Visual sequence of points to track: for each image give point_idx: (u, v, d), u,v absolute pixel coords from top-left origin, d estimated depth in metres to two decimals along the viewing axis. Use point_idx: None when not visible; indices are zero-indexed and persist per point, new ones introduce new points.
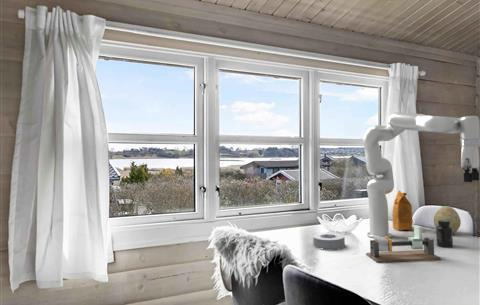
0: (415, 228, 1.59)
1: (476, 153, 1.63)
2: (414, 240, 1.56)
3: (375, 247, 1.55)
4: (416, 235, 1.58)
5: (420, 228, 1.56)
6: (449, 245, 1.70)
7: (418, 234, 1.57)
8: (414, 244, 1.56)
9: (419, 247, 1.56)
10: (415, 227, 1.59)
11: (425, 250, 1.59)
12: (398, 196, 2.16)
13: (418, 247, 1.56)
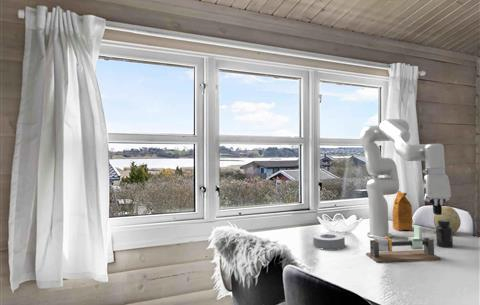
0: (415, 228, 1.59)
1: None
2: (414, 240, 1.56)
3: (375, 247, 1.55)
4: (416, 235, 1.58)
5: (420, 228, 1.56)
6: (449, 245, 1.70)
7: (418, 234, 1.57)
8: (414, 244, 1.56)
9: (419, 247, 1.56)
10: (415, 227, 1.59)
11: (425, 250, 1.59)
12: (398, 196, 2.16)
13: (418, 247, 1.56)
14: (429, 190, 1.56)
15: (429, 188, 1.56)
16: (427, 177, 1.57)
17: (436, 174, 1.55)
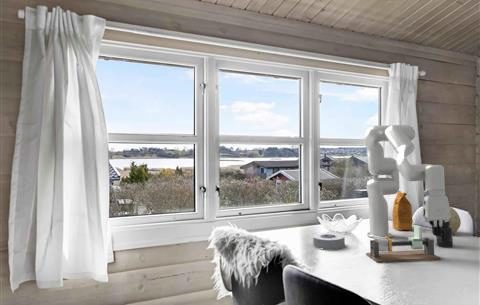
0: (415, 228, 1.59)
1: None
2: (414, 240, 1.56)
3: (375, 247, 1.55)
4: (416, 235, 1.58)
5: (420, 228, 1.56)
6: (449, 245, 1.70)
7: (418, 234, 1.57)
8: (414, 244, 1.56)
9: (419, 247, 1.56)
10: (415, 227, 1.59)
11: (425, 250, 1.59)
12: (398, 196, 2.16)
13: (418, 247, 1.56)
14: (429, 212, 1.56)
15: (429, 210, 1.56)
16: (427, 198, 1.57)
17: (436, 196, 1.55)
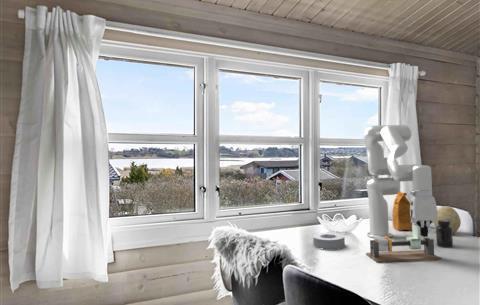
0: (413, 228, 1.59)
1: None
2: (412, 240, 1.56)
3: (375, 247, 1.55)
4: (414, 235, 1.58)
5: (418, 228, 1.56)
6: (449, 245, 1.70)
7: (416, 234, 1.57)
8: (412, 244, 1.56)
9: (418, 247, 1.56)
10: (413, 227, 1.59)
11: (425, 250, 1.59)
12: (398, 196, 2.16)
13: (416, 247, 1.56)
14: (416, 212, 1.56)
15: (416, 210, 1.56)
16: (414, 199, 1.57)
17: (423, 196, 1.55)
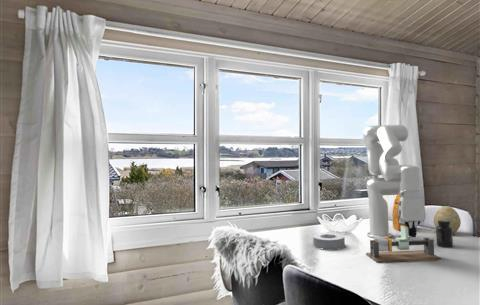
0: (402, 229, 1.59)
1: None
2: (400, 241, 1.56)
3: (375, 247, 1.55)
4: (403, 236, 1.58)
5: (406, 229, 1.56)
6: (449, 245, 1.70)
7: (405, 235, 1.56)
8: (400, 245, 1.56)
9: (406, 247, 1.56)
10: (402, 228, 1.59)
11: (425, 250, 1.59)
12: (398, 196, 2.16)
13: (404, 248, 1.56)
14: (404, 213, 1.55)
15: (404, 211, 1.55)
16: (402, 199, 1.56)
17: (411, 197, 1.55)
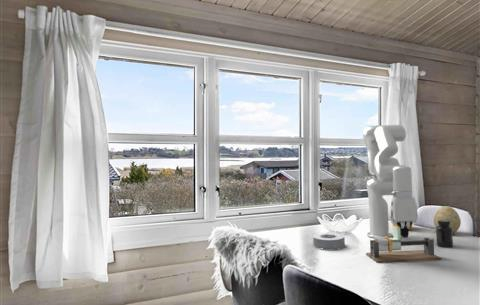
0: (394, 229, 1.59)
1: None
2: (392, 241, 1.55)
3: (375, 247, 1.55)
4: (395, 236, 1.58)
5: (398, 229, 1.56)
6: (449, 245, 1.70)
7: (396, 235, 1.56)
8: (392, 245, 1.55)
9: (398, 248, 1.56)
10: (394, 228, 1.59)
11: (425, 250, 1.59)
12: None
13: (396, 248, 1.56)
14: (396, 213, 1.55)
15: (396, 211, 1.55)
16: (394, 200, 1.56)
17: (403, 197, 1.55)
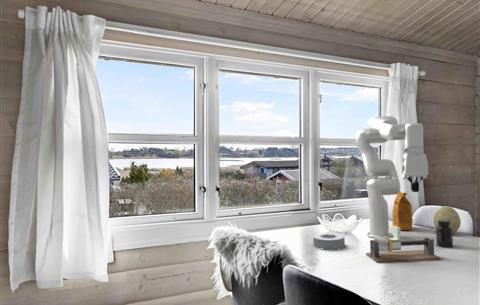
0: (394, 229, 1.59)
1: None
2: (392, 241, 1.55)
3: (375, 247, 1.55)
4: (395, 236, 1.58)
5: (398, 229, 1.56)
6: (449, 245, 1.70)
7: (396, 235, 1.56)
8: (392, 245, 1.55)
9: (398, 248, 1.56)
10: (394, 228, 1.59)
11: (425, 250, 1.59)
12: (398, 196, 2.16)
13: (396, 248, 1.56)
14: (407, 168, 1.61)
15: (407, 166, 1.61)
16: (406, 156, 1.62)
17: (414, 153, 1.60)
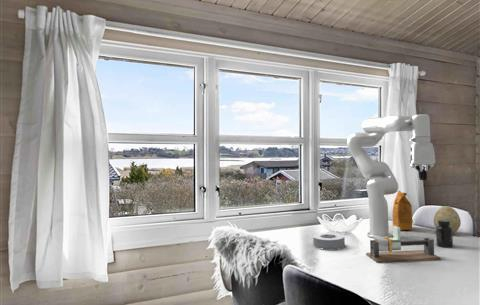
0: (394, 229, 1.59)
1: None
2: (392, 241, 1.55)
3: (375, 247, 1.55)
4: (395, 236, 1.58)
5: (398, 229, 1.56)
6: (449, 245, 1.70)
7: (396, 235, 1.56)
8: (392, 245, 1.55)
9: (398, 248, 1.56)
10: (394, 228, 1.59)
11: (425, 250, 1.59)
12: (398, 196, 2.16)
13: (396, 248, 1.56)
14: (415, 157, 1.68)
15: (415, 155, 1.68)
16: (413, 145, 1.69)
17: (422, 142, 1.67)
